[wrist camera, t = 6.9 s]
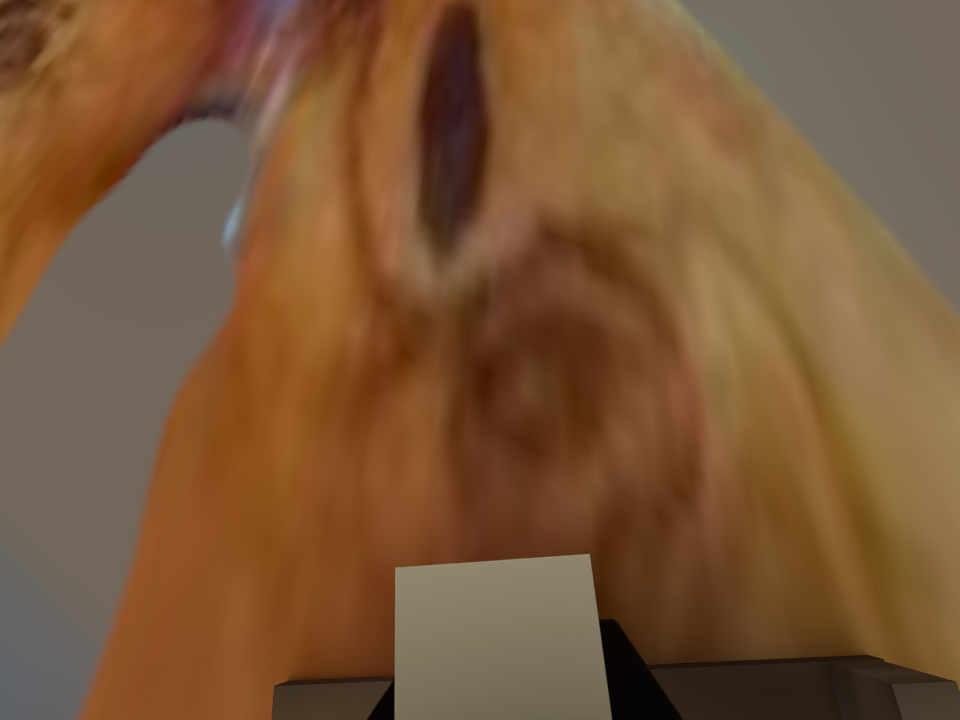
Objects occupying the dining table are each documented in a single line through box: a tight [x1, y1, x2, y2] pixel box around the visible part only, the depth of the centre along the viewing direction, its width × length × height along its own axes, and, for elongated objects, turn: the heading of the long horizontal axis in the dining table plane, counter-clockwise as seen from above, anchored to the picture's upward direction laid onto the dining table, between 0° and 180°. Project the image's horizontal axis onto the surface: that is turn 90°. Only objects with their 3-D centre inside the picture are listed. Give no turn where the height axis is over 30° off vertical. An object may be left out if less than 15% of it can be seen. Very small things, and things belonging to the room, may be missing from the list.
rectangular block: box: [394, 554, 612, 720], centre depth 10 cm, size 5×3×11 cm, turn 4°
